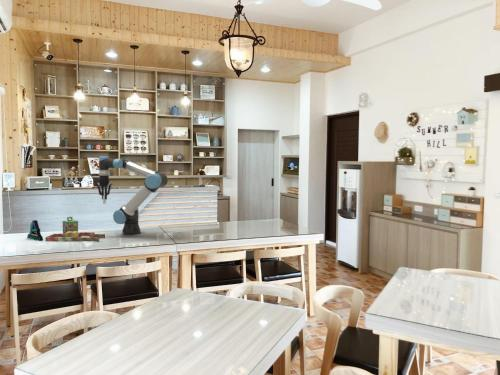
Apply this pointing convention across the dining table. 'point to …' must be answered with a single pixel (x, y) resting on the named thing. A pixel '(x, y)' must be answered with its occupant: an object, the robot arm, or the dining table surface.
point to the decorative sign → (35, 231)
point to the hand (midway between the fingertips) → (104, 203)
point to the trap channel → (63, 237)
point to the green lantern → (70, 225)
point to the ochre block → (72, 234)
